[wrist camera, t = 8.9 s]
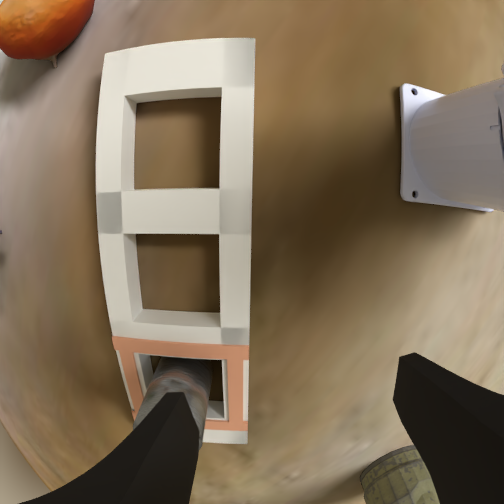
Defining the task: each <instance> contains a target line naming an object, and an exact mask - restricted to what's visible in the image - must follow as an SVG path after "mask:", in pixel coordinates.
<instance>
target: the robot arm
mask: <svg viewBox="0 0 504 504" xmlns="http://www.w3.org/2000/svg"><path fill="white" fill-rule="evenodd" d="M501 70H502V72H503V75H504V63H503V65H502V68H501ZM411 90H413V91H414V92H415V95H413V94H412V92H411ZM400 102H401V128H402V162H401V189H400V195H401V197H402V199H403V200H405V201H410V202H419V203H428V204H437V205H445V206H452V207H460V208H467V209H474V210H481V211H487V212H492V211H493V210H498V211H503V212H504V78H501V79H497V80H494V81H490V82H487V83H483V84H480V85H477V86H473V87H470V88H467V89H464V90H460V91H457V92H454V93H451V94H448V95H443V94H440V93H437V92H434V91H431V90H428V89H425V88H421V87H418V86H414V85H411V84H406V83H405V84H403V85H401V86H400ZM413 191H415V194H416V195H415V197H414V198H413V196H412V192H413ZM393 401H394V404H395V407H396V409H397V412H398V415H399V417H400V419H401V422H402V424H403V426H404V428H405V429H406V431H407V433H408V435H409V437H410V438H411V440H412V442H413V444H414V445H415V447H416V449H417V451H418V453H419V454H420V456H421V458H422V460H423V462H424V463H425V465H426V467H427V470H428V472H429V474H430V476H431V479H432V482H433V484H434V487H435V490H436V493H437V496H438V499H439V503H440V504H504V395H502V394H498V393H496V392H493V391H490V390H488V389H486V388H483V387H481V386H479V385H476V384H474V383H472V382H470V381H468V380H466V379H464V378H462V377H460V376H458V375H456V374H454V373H452V372H450V371H448V370H447V369H445V368H443V367H441V366H439V365H437V364H436V363H434V362H432V361H430V360H428V359H427V358H425V357H423V356H421V355H419V354H417V353H415V352H414V353H411V354H408V355H404V356H401V357H399V364H398V371H397V378H396V384H395V390H394V396H393ZM199 433H200V431H199V429H198V426H197V424H196V421H195V419H194V417H193V414H192V412H191V409H190V407H189V404H188V401H187V399H186V396H185V394H184V392H167V393H166V394H165V395H164V396H163V397H162V398H161V399H160V401H159V402H158V403H157V404H156V405H155V406H154V408H153V409H152V410H151V411H150V412H149V413H148V415H147V416H146V417H145V418H144V419H143V420H142V421H141V422H140V424H139V425H138V426H137V427H136V428H135V429H134V430H133V431H132V432H131V433H130V434H129V435H128V436H127V437H126V438H125V439H124V440H123V441H122V442H121V443H120V444H119V445H118V446H117V447H116V448H115V449H114V450H113V451H112V452H111V453H110V454H109V455H107V456H106V457H105V458H104V459H103V460H101V461H100V462H99V463H98V464H96V465H95V466H94V467H92V468H91V469H90V470H88V471H87V472H85V473H84V474H82V475H81V476H79V477H77V478H76V479H74V480H73V481H71V482H69V483H68V484H66V485H64V486H62V487H60V488H58V489H56V490H54V491H52V492H50V493H48V494H46V495H43V496H41V497H38V498H35V499H32V500H29V501H26V502H22V503H19V504H189V500H190V495H191V490H192V485H193V480H194V475H195V470H196V465H197V460H198V452H199Z"/></svg>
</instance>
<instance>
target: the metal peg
mask: <svg viewBox="0 0 504 504" xmlns="http://www.w3.org/2000/svg"><path fill="white" fill-rule="evenodd" d="M212 376H213V366H212V363H211V361H210V359H193V358H179V357H167V356H162V357H161V359H160V361H159V364H158V366H157V368H156V371H155V373H154V375H153V378H152V380H151V382H150V385H149V387H148V389H147V392H146V394H145V397H144V399H143V401H142V404H141V406H140V409H139V411H138V414H137V416H136V419H135V421H134V424H133V430H134V429H135V428H136V427H137V426H138V425H139V424H140V422H141V421H142V420H143V419H144V418H145V417H146V416H147V415H148V413H149V412H150V411H151V410H152V409H153V408H154V406H155V405H156V404H157V403H158V402H159V401H160V399H161V398H162V397H163V396H164V395H165V394H166V393H167V392H184V394H185V396H186V399H187V401H188V404H189V407H190V409H191V412H192V414H193V417H194V419H195V421H196V424H197V426H198V429H199V431H200V433H199V450H200V448H201V447H202V442H203V435H204V429H205V422H206V415H207V408H208V402H209V395H210V389H211V382H212Z"/></svg>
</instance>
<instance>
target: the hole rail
mask: <svg viewBox="0 0 504 504" xmlns="http://www.w3.org/2000/svg"><path fill="white" fill-rule="evenodd" d="M254 74H255V38H215V39H198V40H186V41H176V42H167V43H160V44H153V45H146V46H140V47H135V48H129V49H124V50H119V51H115V52H110V53H106V54H105V59H104V65H103V72H102V80H101V88H100V97H99V108H98V121H97V139H96V205H97V223H98V237H99V248H100V258H101V267H102V275H103V282H104V289H105V296H106V302H107V308H108V314H109V319H110V324H111V330H112V334H113V336H112V341H113V346H114V350H116V353H117V357H118V361H119V365H120V369H121V373H122V377H123V381H124V384H125V388H126V391H127V395H128V398H129V402H130V405H131V408H132V415H133V418H134V420H135V419H136V416H137V414H138V411H139V409H140V406H141V404H142V401H143V399H144V397H145V394H146V392H147V389H148V387H149V385H150V382H151V380H152V378H153V370H152V364H151V359H150V355H156V356H167V357H179V358H193V359H210V360H222V376H223V397H224V401H210V400H209V402H208V408H207V415H206V422H205V429H204V435H203V442H211V443H230V444H247V436H248V380H249V326H250V273H251V221H252V171H253V122H254ZM202 97H222V101H221V133H220V188H167V189H138V190H134V144H135V121H136V105H137V103H142V102H150V101H160V100H171V99H184V98H202ZM136 234H219V261H220V313H209V312H186V311H167V310H151V309H143V307H142V299H141V290H140V281H139V271H138V259H137V246H136Z"/></svg>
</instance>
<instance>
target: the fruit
mask: <svg viewBox="0 0 504 504" xmlns="http://www.w3.org/2000/svg"><path fill="white" fill-rule="evenodd" d="M94 1H95V0H3V2H2V3H1V5H0V49H1V50H2V51H3V52H4V53H5V54H6V55H7V56H9V57H11V58H14V59H37V60H42V59H43V60H51V61H52V62H53V66H54V68H55V67H56V68H57V62H56V57H57V55H58V53H60V52H62V51H63V50H64V49H65V48H66V47H67V46H68V45H69V44H70V43H71V42H72V41H73V40H74V39H75V38H76V37H77V36H78V35H79V33H80V32H81V30H82V29H83V27H84V25H85V24H86V22H87V21H88V20H89V18H90V17H91V15H92V12H93V7H94Z"/></svg>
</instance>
